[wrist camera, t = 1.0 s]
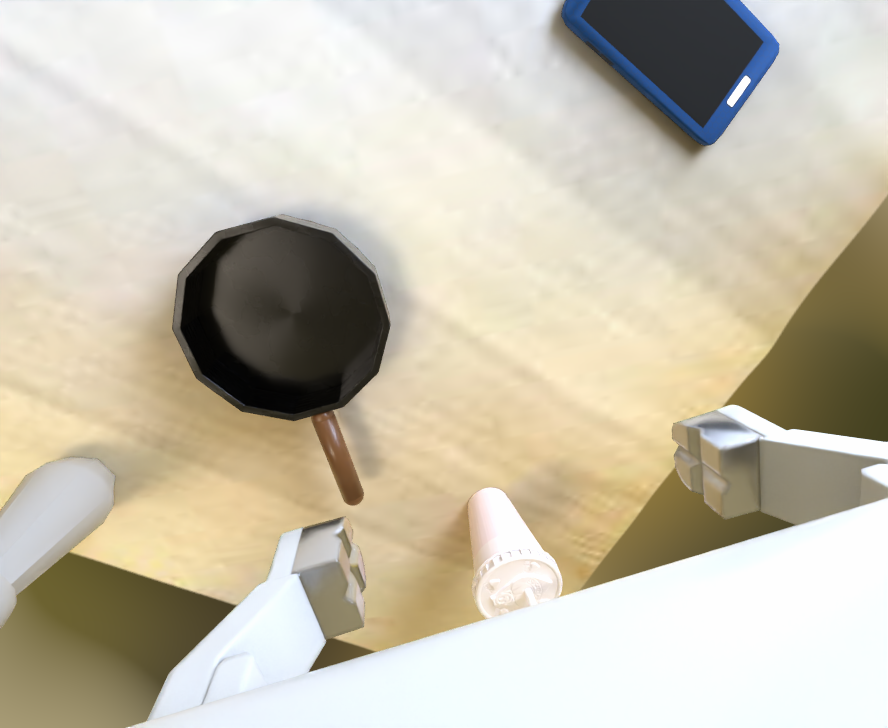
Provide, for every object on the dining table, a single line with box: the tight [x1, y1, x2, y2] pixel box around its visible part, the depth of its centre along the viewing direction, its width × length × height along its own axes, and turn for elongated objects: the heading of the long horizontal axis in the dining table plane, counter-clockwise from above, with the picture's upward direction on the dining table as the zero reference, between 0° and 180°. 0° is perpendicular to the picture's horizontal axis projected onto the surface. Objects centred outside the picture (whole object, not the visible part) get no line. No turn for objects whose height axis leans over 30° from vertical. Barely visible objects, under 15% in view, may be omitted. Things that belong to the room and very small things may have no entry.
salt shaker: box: [0, 457, 116, 629], centre depth 29 cm, size 6×6×13 cm
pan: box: [172, 214, 390, 506], centre depth 33 cm, size 21×13×4 cm, turn 14°
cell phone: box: [562, 0, 779, 146], centre depth 30 cm, size 7×14×1 cm, turn 58°
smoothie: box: [468, 488, 562, 619], centre depth 35 cm, size 6×6×14 cm
